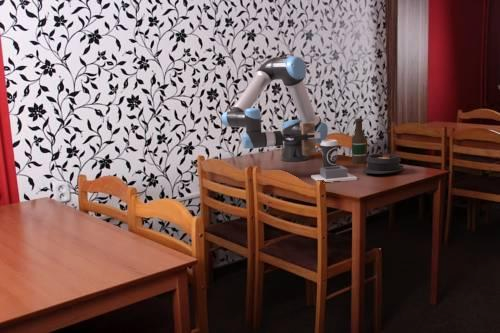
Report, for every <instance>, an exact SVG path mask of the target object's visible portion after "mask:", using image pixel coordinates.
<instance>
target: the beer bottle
mask: <svg viewBox="0 0 500 333" xmlns="http://www.w3.org/2000/svg"><path fill="white" fill-rule="evenodd" d="M363 132H364V131H363V119H362V118H356V119H355V131H354V134H353V136H352V139H351V162H352V164H355V163H356V165H357V164H359V165H361V164H366V163H367V161H366V159H367V138H366V136H365V135H364V133H363Z"/></svg>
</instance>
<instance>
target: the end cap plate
mask: <svg viewBox="0 0 500 333" xmlns="http://www.w3.org/2000/svg"><path fill="white" fill-rule="evenodd" d="M310 177H311V179H313V180H314V181H316V182H318V181H317V180H324V181H325V182H331V183H334V182H333V181H341V182H347V181H348V182H349V181H357V180H358V177H357V176H355V175H353V174H350V173H349V172H348V168H347V167H345V166H343V165H336V166H332V167H324V166H322V167H319V174H312V175H310Z"/></svg>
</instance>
